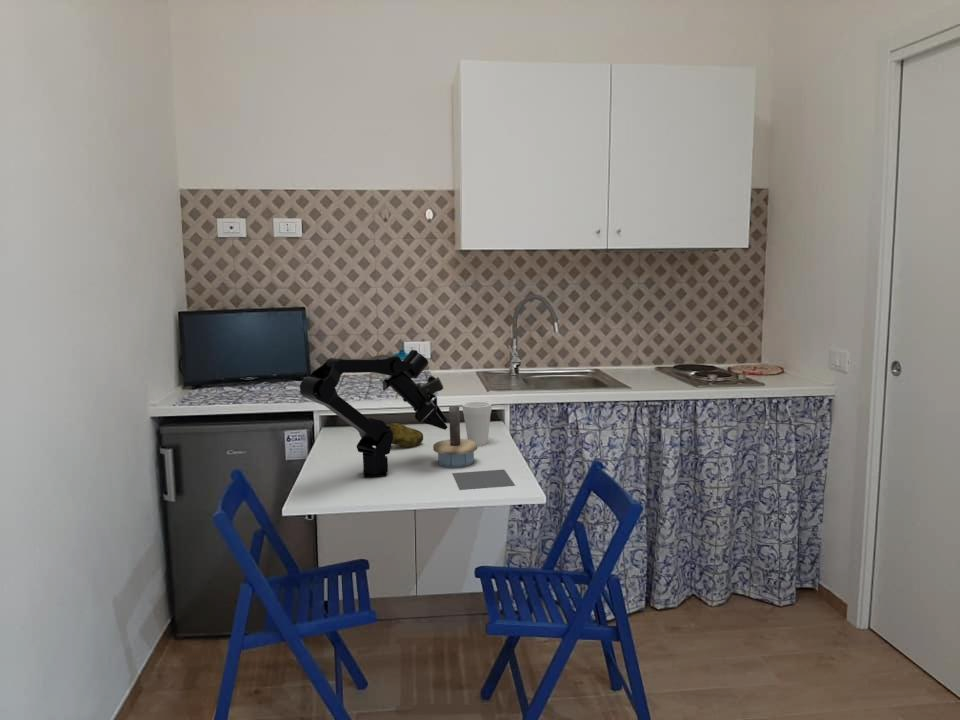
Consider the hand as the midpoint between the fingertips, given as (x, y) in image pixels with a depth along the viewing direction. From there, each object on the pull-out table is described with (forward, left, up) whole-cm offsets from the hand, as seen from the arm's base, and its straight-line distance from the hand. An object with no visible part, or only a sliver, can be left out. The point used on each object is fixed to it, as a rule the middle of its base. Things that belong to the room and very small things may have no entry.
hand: (446, 424), depth 216 cm
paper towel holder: (+2, 0, -7) cm, 8 cm away
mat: (+8, -18, -12) cm, 23 cm away
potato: (-11, +23, -12) cm, 28 cm away
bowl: (+3, 0, -12) cm, 12 cm away
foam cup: (+13, +21, -12) cm, 27 cm away
